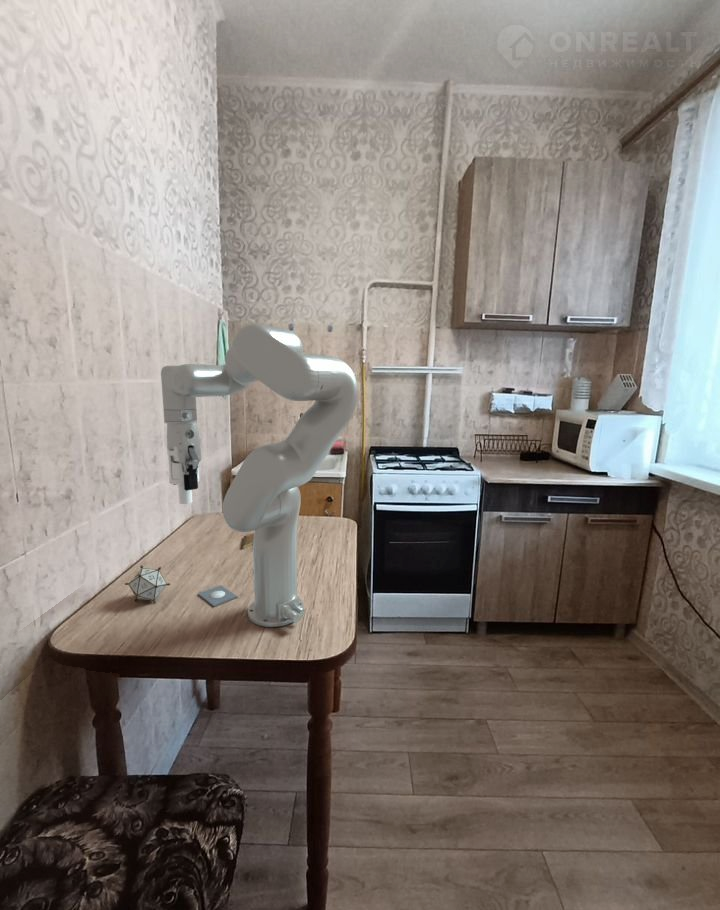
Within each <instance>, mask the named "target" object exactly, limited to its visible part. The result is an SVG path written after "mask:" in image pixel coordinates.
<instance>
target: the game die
mask: <svg viewBox="0 0 720 910" xmlns="http://www.w3.org/2000/svg"><path fill="white" fill-rule="evenodd" d="M139 567H140V570H139V571H138V572H137V573H136V574H135V575H134V577H132V578H131V580H130V581H129V582H126V583H124V585H126V586H129V588H130V590H131V591H132V593H133V594H134V602H138V600H144V601H152V603H153V604H156V603H157V602H156V599H157V598H158V596H159V595H160V594H161V593H162V591H163V590H164V589H165V588H166V587H167V586H171V585H172V584H171V583H169V582H168V583H167V581H166V580H165V578H164V576H163V574H162V572H161V571H160V570H161V569H162V566H158V567H157V568H144V566H143V565H140V566H139Z"/></svg>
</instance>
